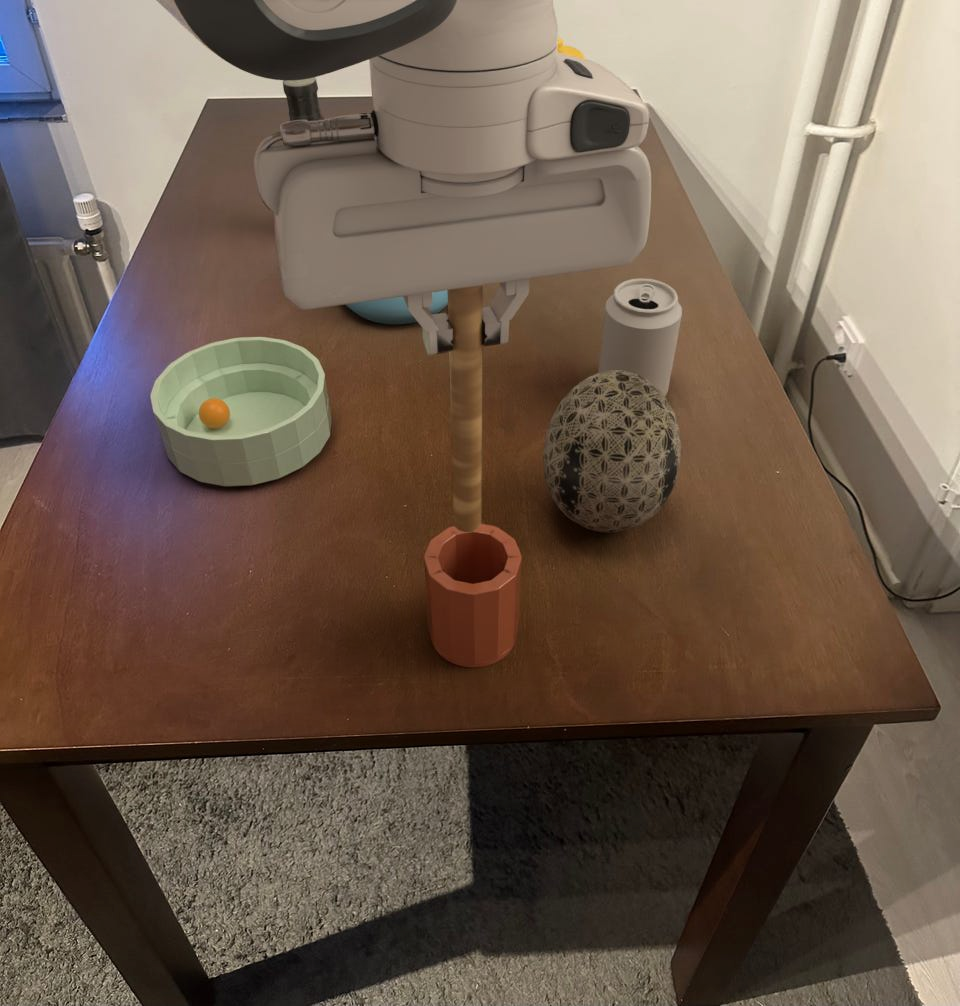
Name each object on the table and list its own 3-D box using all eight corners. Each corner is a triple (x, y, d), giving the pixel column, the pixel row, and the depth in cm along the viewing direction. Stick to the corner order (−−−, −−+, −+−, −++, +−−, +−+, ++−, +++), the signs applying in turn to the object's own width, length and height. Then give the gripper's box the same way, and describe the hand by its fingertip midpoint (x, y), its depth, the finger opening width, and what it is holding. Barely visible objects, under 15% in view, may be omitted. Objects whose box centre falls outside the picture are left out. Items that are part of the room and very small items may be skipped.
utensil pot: (419, 657, 70) (413, 582, 64) (444, 591, 75) (440, 515, 69) (505, 676, 69) (508, 601, 62) (525, 607, 74) (529, 532, 67)
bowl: (136, 475, 85) (117, 423, 81) (214, 378, 97) (201, 327, 92) (293, 505, 82) (282, 452, 78) (355, 401, 94) (348, 349, 89)
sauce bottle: (341, 218, 123) (323, 66, 109) (353, 238, 119) (336, 83, 105) (294, 226, 121) (270, 73, 108) (305, 247, 117) (281, 90, 103)
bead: (196, 432, 89) (190, 408, 87) (210, 413, 91) (204, 390, 89) (224, 436, 88) (218, 413, 86) (237, 418, 90) (232, 394, 88)
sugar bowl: (313, 313, 106) (299, 221, 98) (376, 255, 116) (368, 168, 108) (425, 343, 101) (420, 250, 93) (480, 281, 111) (480, 191, 103)
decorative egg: (513, 519, 81) (518, 385, 71) (588, 454, 87) (603, 323, 77) (620, 582, 76) (642, 448, 65) (692, 509, 82) (723, 376, 71)
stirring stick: (449, 529, 63) (442, 275, 49) (457, 510, 64) (452, 257, 50) (477, 534, 62) (477, 280, 49) (484, 515, 64) (486, 262, 50)
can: (589, 406, 93) (600, 306, 84) (603, 366, 98) (615, 268, 90) (661, 419, 91) (679, 319, 83) (671, 378, 96) (689, 279, 88)
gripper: (252, 152, 39) (296, 403, 49) (681, 108, 43) (643, 348, 53) (241, 101, 44) (284, 340, 53) (631, 65, 47) (605, 294, 57)
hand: (465, 344), depth 53 cm, fingers closed on stirring stick, 2 cm apart
